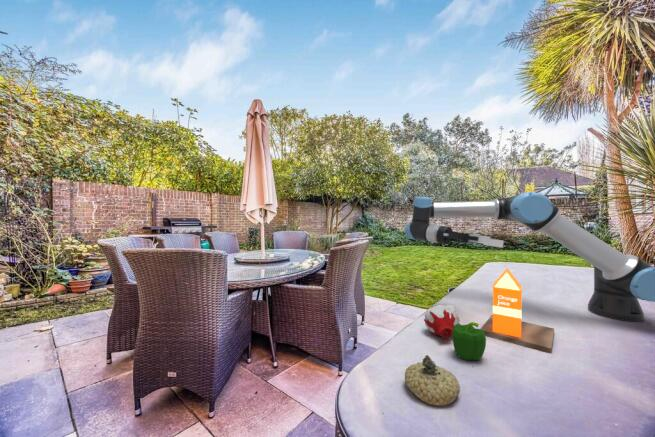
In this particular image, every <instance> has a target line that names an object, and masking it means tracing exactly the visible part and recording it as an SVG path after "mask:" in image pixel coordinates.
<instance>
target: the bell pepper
mask: <svg viewBox="0 0 655 437" xmlns="http://www.w3.org/2000/svg"><path fill="white" fill-rule="evenodd" d="M479 325H480V323H478V322H473V321H472V322H469V323H467V324H456V325H455V326H454V328H453V331H452V336H451V337H452V344H453V348H454V352H455V354H456V356H458V357H459V358H460V359H463V360H464V361H465V360H466V361H470V360H472V361H479V360H480V359H481V358H483V355H484V353H485V349H486V347H487V346H486V345H487V338H486V337H487V336H486V335H485V333H484V330H481V328H478V327H479Z"/></svg>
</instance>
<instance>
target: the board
mask: <svg viewBox="0 0 655 437" xmlns="http://www.w3.org/2000/svg"><path fill="white" fill-rule="evenodd" d="M480 329H481V330H484V333H485V335H486V337H490V338H494V339H497V340H499V341H505V342H507V343H511V344H516V345H519V346H523V347H526V348H529V349H533V350H535V351H536V350H537V351H541V352H544V353H547V354H552V350H553V342H554V336H555V328H553V327H548V326H545V325H540V324H536V323H530V322H528V321H527V322H526V321H522V320H521V338H520V337H515V336H511V335H506V334H502V333H497V332H493V314H491V315H490V317H488V319H486V321H485V323H484V324H483V325H482V326H481V328H480Z"/></svg>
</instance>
